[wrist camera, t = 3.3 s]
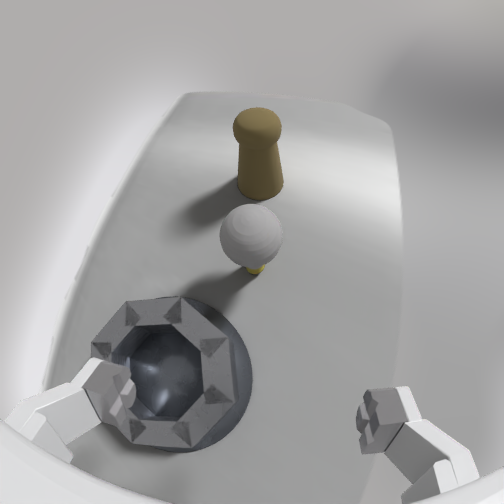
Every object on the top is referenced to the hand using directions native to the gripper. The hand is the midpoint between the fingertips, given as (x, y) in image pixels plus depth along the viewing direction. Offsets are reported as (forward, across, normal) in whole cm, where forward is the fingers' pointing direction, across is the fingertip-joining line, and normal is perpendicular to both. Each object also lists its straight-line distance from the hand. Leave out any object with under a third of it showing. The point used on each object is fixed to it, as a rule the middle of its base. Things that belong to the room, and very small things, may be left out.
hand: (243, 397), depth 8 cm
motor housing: (+14, +9, +14) cm, 21 cm away
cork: (+31, +2, -4) cm, 32 cm away
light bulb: (+23, +2, +5) cm, 23 cm away
